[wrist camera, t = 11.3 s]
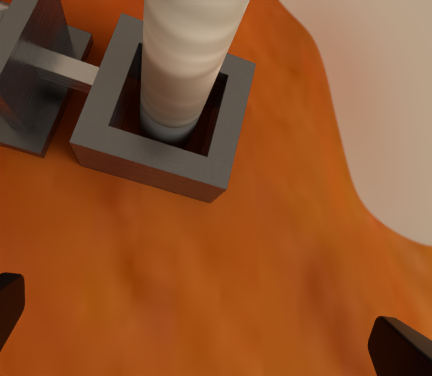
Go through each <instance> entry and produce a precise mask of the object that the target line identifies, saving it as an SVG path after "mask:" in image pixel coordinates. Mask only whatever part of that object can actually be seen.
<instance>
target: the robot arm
mask: <svg viewBox="0 0 432 376" xmlns="http://www.w3.org/2000/svg"><path fill="white" fill-rule="evenodd" d="M24 306H25V283H24V277H23V276H22V275H21V274H16V273H7V272H5V273H1V274H0V351H1V350H2V348H3V346H4V344H5V343H6V341H7V339H8V337H9V336H10V334H11V332H12V330H13V329H14V327H15V325H16V323H17V321H18V320H19V318H20V316H21V314H22V312H23V310H24ZM368 351H369V354H370V357H371V360H372V363H373V366H374V368H375V371H376V374H377V376H432V340H430V339H428V338H427V337H425V336H424V335H422V334H420V333H419V332H417V331H416V330H414V329H412V328H411V327H409V326H408V325H406V324H404V323H403V322H401V321H400V320H398V319H396V318H394V317H386V316H379V317H377V318H376V320H375V323H374V325H373V328H372V331H371V334H370V337H369V340H368Z"/></svg>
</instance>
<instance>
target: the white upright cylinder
mask: <svg viewBox="0 0 432 376" xmlns="http://www.w3.org/2000/svg"><path fill="white" fill-rule="evenodd" d="M248 3H249V0H144V19H143V45H142V70H141V96H140V122H139V129H140V134H141V136H142V137H145V138H148V139H151V140H154V141H158V142H161V143H164V144H167V145H170V146H173V147H177V148H180V149H182V148H183V147H184V146H185V145H186V144H187V143H188V142H189V140H190V138H191V135H192V133H193V131H194V128H195V126H196V124H197V121H198V119H199V117H200V114H201V112H202V110H203V107H204V105H205V103H206V100H207V98H208V96H209V93H210V91H211V89H212V86H213V84H214V82H215V79H216V77H217V75H218V73H219V70H220V68H221V66H222V63H223V61H224V59H225V56H226V54H227V52H228V49H229V47H230V45H231V42H232V40H233V38H234V35H235V33H236V31H237V28H238V26H239V24H240V21H241V19H242V17H243V14H244V12H245V10H246V7H247V5H248Z"/></svg>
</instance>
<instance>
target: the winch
mask: <svg viewBox="0 0 432 376" xmlns="http://www.w3.org/2000/svg"><path fill="white" fill-rule="evenodd" d="M92 43H93V39H92V34H91V33H88V32H85V31H82V30H80V29H77V28H74V27H71V26H69V25H67V23H66V19H65V15H64V12H63V8H62V4H61V1H60V0H12V2H11V4H8V3H5V2H2V1H0V146H3V147H7V148H10V149H14V150H17V151H21V152H24V153H28V154H31V155H35V156H38V157H42V158H44V156H45V154H46V151H47V149H48V147H49V144H50V142H51V140H52V137H53V135H54V133H55V130H56V128H57V125H58V123H59V121H60V118H61V116H62V114H63V111H64V109H65V107H66V104H67V102H68V100H69V97H70V95H71V93H72V90H73V89H75V90H78V91H81V92H84V93H87V94H89V95H88V97H87V99H86V102H85V104H84V107H83V109H82V112H81V114H80V117H79V119H78V122H77V124H76V127H75V129H74V132H73V134H72V136H71V139H70V141H69V143H70V145H71V147H72V149H73V151H74V153H75V155H76V157H77V159H78V161H79V163H80V165H81V166H84V167H87V168H91V169H94V170H97V171H101V172H104V173H108V174H111V175H115V176H118V177H122V178H125V179H128V180H132V181H135V182H139V183H142V184H146V185H149V186H152V187H156V188H159V189H163V190H166V191H170V192H173V193H177V194H180V195H183V196H187V197H190V198H194V199H197V200H201V201H204V202H207V203H211V202H213V201H214V200H215V199H216V198H217V197H219V196H220V195H221V194H222V193H223V192H224V191H226V190H227V186H228V182H229V177H230V173H231V169H232V164H233V160H234V156H235V152H236V147H237V143H238V139H239V134H240V130H241V126H242V121H243V117H244V113H245V109H246V104H247V100H248V96H249V91H250V87H251V83H252V78H253V74H254V70H255V65H256V64H255V63H252V62H250V61H247V60H244V59H242V58H239V57H237V56H234V55H231V54H229V53H227V54H226V56H225V59H224V61H223V63H222V66H221V68H220V70H219V73H218V75H217V77H216V79H215V82H214V84H213V86H212V89H211V91H210V93H209V96H208V98H207V100H206V104H209V105H211V106H213V110H212V114H211V117H210V121H209V125H208V129H207V132H206V136H205V140H204V143H203V147H202V151H201V155H199V154H196V153H192V152H189V151H186V150H183V149H180V148H177V147H173V146H170V145H167V144H164V143H161V142H158V141H154V140H151V139H148V138H145V137H142V136H139V135H136V134H132V133H129V132H126V131H123V130H120V129H121V126H122V124H123V121H124V118H125V115H126V112H127V110H128V107H129V104H130V101H131V98H132V96H133V93H134V90H135V87H136V84H137V82H138V80H139V81H141V70H142V45H143V21H142V20H139V19H136V18H134V17H131V16H129V15H126V14H123V13H121V16H120V18H119V20H118V23H117V25H116V28H115V30H114V33H113V35H112V38H111V40H110V43H109V45H108V48H107V50H106V53H105V55H104V58H103V60H102V62H101V65H100V67H97V66H94V65H91V64H88V63H85V60H86V57H87V55H88V52H89V50H90V48H91V45H92Z"/></svg>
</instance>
